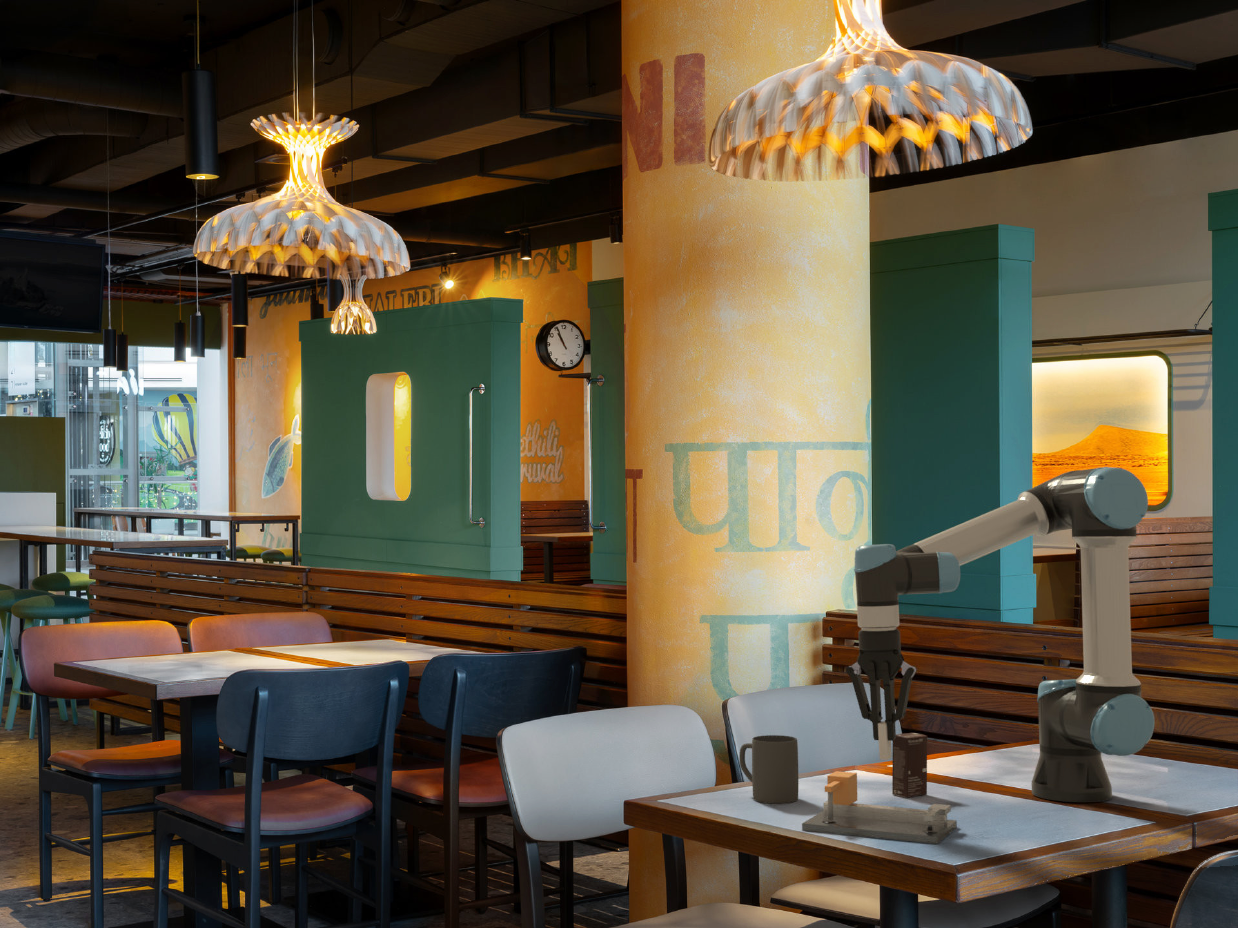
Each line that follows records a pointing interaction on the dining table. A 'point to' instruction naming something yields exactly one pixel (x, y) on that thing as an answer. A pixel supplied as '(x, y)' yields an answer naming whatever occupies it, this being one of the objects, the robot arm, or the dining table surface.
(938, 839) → the plate
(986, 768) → the dining table surface
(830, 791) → the jaw
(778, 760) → the mug
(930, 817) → the beam
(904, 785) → the box
